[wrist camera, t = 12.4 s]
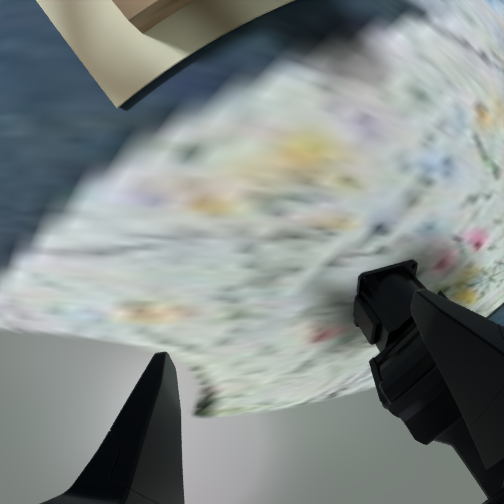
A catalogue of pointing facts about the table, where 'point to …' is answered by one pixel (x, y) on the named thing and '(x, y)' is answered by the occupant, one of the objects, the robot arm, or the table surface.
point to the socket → (144, 35)
